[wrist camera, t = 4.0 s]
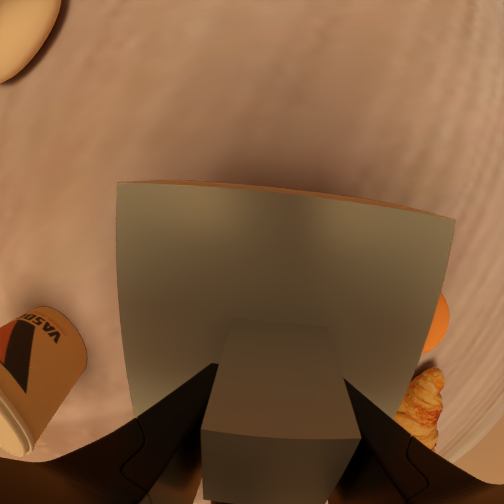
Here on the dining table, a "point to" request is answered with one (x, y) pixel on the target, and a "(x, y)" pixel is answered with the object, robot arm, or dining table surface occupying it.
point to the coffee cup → (35, 374)
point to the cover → (274, 320)
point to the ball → (437, 325)
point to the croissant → (422, 407)
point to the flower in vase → (23, 32)
